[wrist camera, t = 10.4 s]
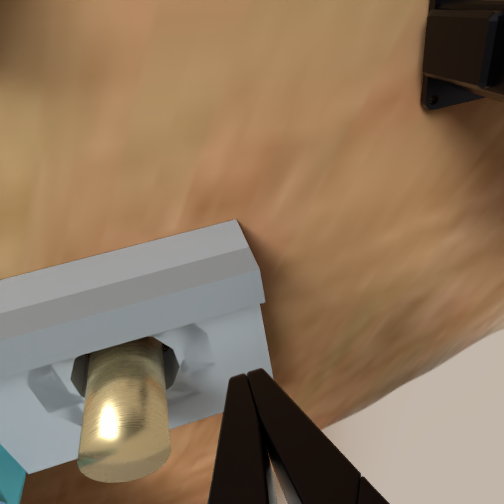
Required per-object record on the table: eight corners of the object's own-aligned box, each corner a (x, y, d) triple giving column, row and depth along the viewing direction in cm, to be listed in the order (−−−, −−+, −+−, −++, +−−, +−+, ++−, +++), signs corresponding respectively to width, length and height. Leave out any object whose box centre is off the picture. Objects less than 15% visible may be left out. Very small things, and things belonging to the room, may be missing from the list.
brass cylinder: (150, 300, 23) (157, 417, 17) (168, 346, 26) (180, 465, 19) (82, 319, 23) (61, 447, 16) (106, 364, 25) (97, 492, 19)
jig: (236, 219, 22) (259, 269, 18) (264, 361, 29) (286, 421, 25) (-69, 297, 20) (-122, 374, 16) (38, 430, 27) (21, 508, 23)
